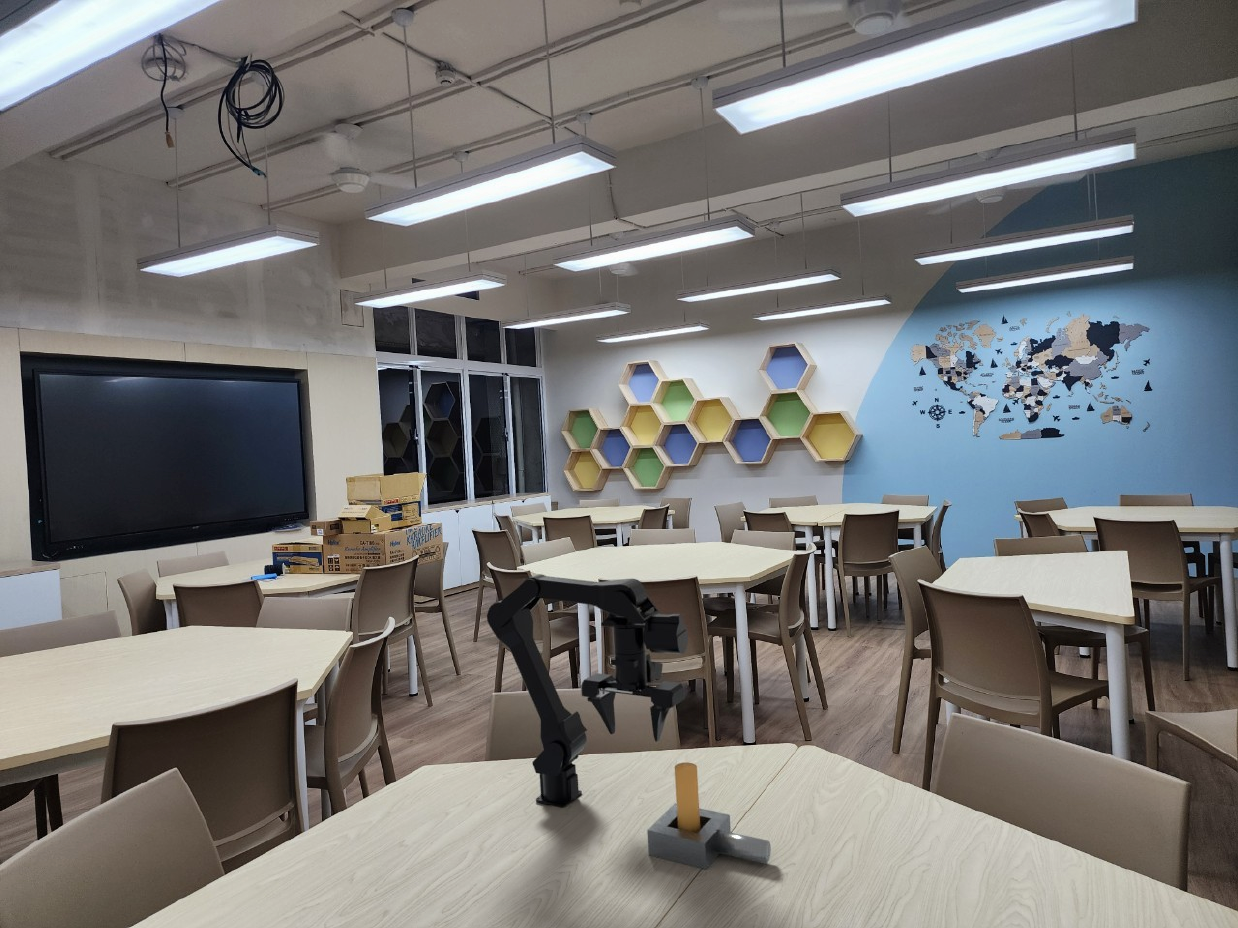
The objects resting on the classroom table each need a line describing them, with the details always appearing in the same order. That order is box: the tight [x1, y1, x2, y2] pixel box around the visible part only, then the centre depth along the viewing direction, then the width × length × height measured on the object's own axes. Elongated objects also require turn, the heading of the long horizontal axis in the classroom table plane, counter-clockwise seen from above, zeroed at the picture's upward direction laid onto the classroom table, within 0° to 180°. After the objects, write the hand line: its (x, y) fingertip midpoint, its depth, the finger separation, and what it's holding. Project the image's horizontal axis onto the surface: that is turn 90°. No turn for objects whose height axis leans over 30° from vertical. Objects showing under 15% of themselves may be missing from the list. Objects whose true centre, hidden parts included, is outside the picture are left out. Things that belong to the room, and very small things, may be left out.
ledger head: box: [646, 802, 772, 870], centre depth 120 cm, size 18×10×4 cm, turn 60°
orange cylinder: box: [674, 762, 701, 833], centre depth 122 cm, size 4×4×13 cm
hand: (634, 737), depth 136 cm, fingers open, 9 cm apart
